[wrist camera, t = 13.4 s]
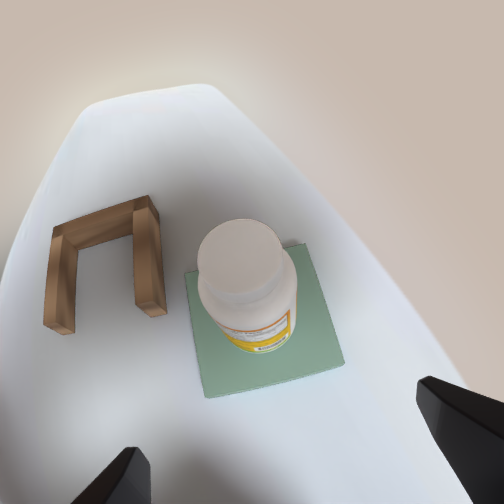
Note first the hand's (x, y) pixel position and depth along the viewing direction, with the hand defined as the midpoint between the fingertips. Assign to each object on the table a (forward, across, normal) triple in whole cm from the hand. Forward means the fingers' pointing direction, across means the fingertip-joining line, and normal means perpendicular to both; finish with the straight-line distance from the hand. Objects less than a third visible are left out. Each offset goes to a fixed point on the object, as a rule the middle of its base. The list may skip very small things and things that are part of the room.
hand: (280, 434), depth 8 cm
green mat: (+15, 0, +4) cm, 16 cm away
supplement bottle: (+14, 0, +3) cm, 15 cm away
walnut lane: (+21, +13, -2) cm, 25 cm away
